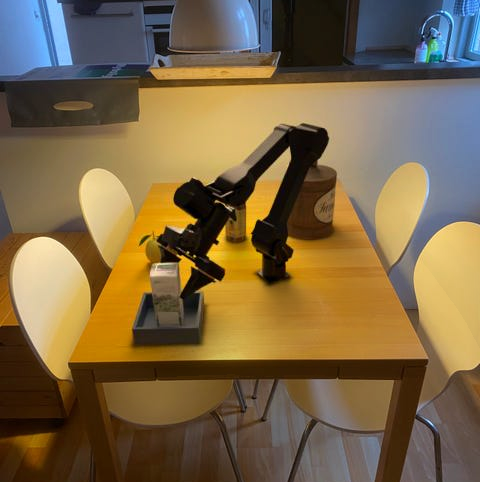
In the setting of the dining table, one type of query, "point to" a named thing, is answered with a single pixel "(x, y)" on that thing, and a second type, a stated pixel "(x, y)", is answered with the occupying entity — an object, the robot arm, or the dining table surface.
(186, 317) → the bin
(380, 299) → the dining table surface
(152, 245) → the lemon
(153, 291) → the syrup box
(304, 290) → the dining table surface
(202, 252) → the robot arm
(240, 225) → the sauce bottle
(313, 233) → the wooden container
